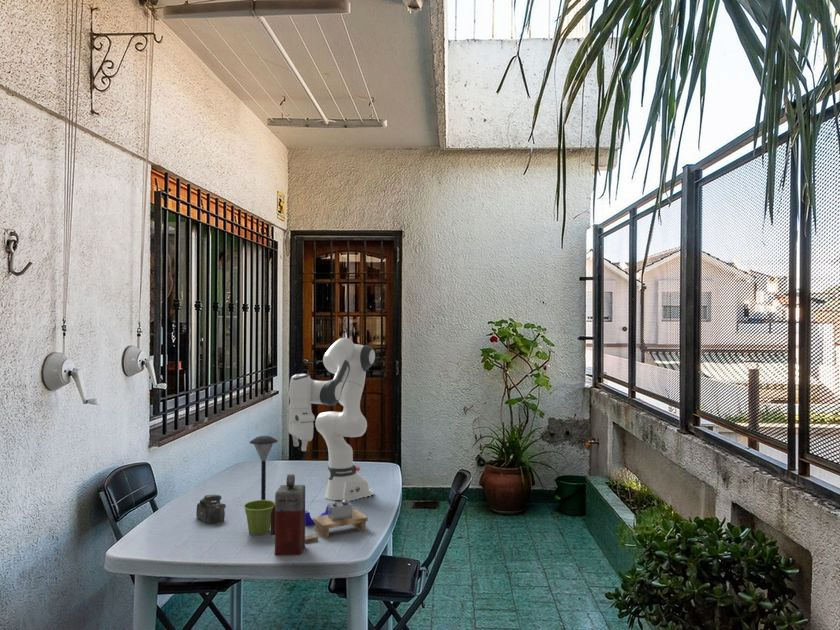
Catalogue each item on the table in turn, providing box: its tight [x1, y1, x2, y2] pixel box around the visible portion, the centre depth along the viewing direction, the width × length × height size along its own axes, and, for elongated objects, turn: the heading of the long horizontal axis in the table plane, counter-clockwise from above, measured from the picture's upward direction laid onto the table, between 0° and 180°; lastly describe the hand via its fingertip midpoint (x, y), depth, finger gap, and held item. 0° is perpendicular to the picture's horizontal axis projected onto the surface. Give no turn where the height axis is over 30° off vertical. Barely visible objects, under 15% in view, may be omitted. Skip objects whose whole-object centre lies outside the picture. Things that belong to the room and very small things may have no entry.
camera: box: [196, 494, 227, 525], centre depth 235 cm, size 13×10×10 cm
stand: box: [312, 509, 368, 539], centre depth 222 cm, size 18×10×6 cm, turn 121°
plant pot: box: [243, 499, 275, 536], centre depth 220 cm, size 12×12×11 cm
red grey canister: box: [270, 473, 306, 556], centre depth 201 cm, size 9×11×28 cm
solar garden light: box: [248, 435, 279, 500], centre depth 252 cm, size 12×12×30 cm
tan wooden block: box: [305, 533, 319, 544], centre depth 210 cm, size 5×3×3 cm, turn 124°
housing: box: [327, 500, 353, 521], centre depth 222 cm, size 5×8×6 cm, turn 120°
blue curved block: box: [305, 505, 328, 527], centre depth 232 cm, size 12×4×6 cm, turn 127°
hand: (299, 448), depth 235 cm, fingers open, 8 cm apart
